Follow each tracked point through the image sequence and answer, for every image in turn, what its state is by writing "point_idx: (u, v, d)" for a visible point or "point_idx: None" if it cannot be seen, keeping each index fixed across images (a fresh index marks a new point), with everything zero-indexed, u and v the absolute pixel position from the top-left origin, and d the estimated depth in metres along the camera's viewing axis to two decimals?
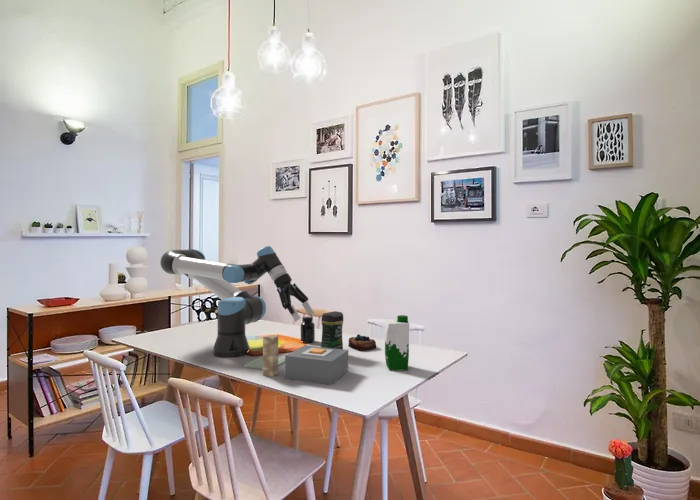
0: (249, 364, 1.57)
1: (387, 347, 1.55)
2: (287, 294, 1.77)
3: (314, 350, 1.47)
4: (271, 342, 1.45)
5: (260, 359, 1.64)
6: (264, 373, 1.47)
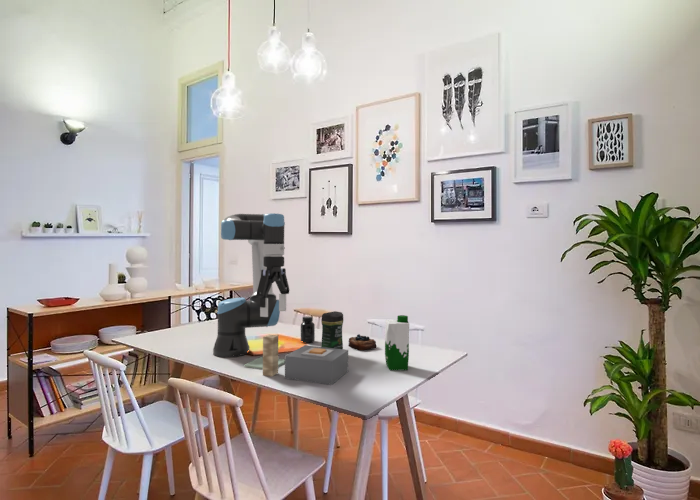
0: (249, 364, 1.57)
1: (387, 347, 1.55)
2: (269, 281, 1.44)
3: (314, 350, 1.47)
4: (271, 342, 1.45)
5: (260, 359, 1.64)
6: (264, 373, 1.47)
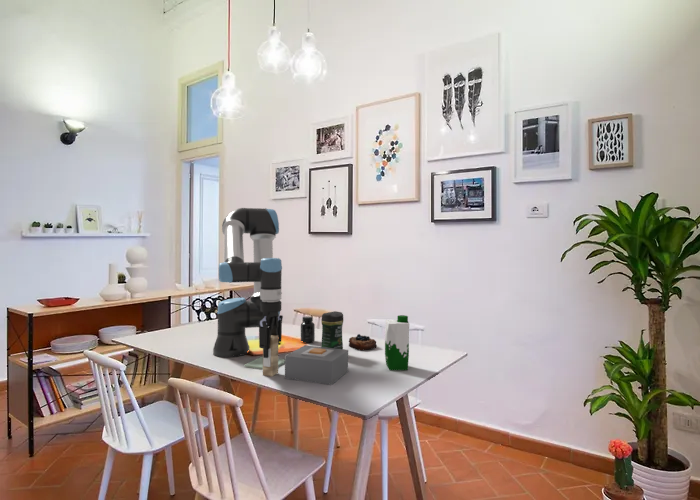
0: (249, 364, 1.57)
1: (387, 347, 1.55)
2: (268, 330, 1.45)
3: (314, 350, 1.47)
4: (271, 342, 1.45)
5: (260, 359, 1.64)
6: (264, 373, 1.47)
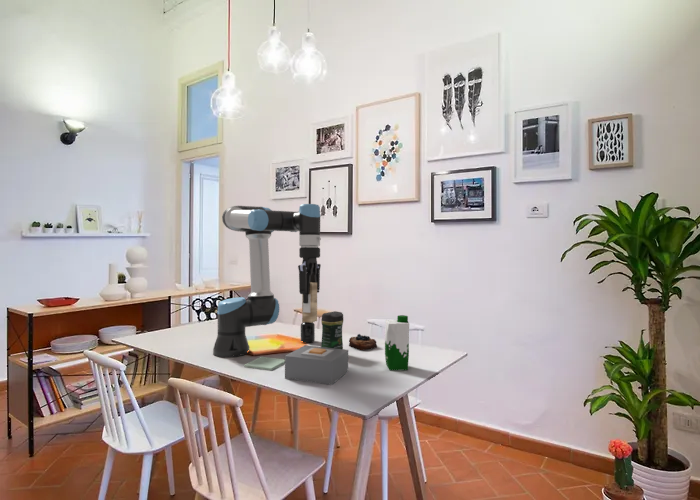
0: (249, 364, 1.57)
1: (387, 347, 1.55)
2: (308, 276, 1.44)
3: (314, 350, 1.47)
4: (311, 288, 1.45)
5: (260, 359, 1.64)
6: (304, 319, 1.46)
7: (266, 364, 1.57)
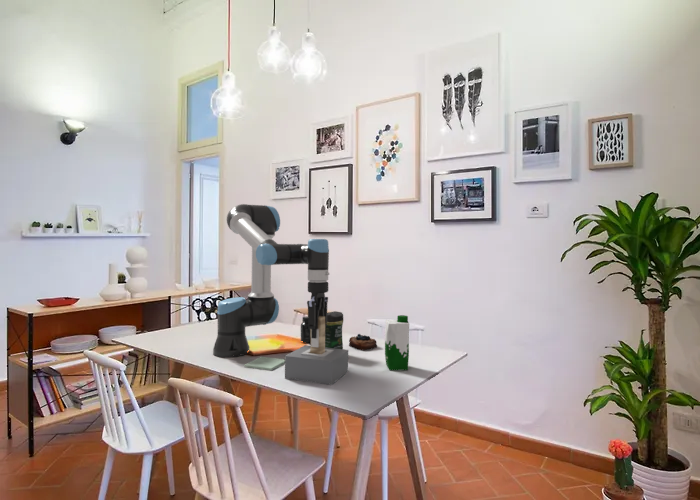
0: (249, 364, 1.57)
1: (387, 347, 1.55)
2: (316, 310, 1.45)
3: None
4: (319, 323, 1.45)
5: (260, 359, 1.64)
6: None
7: (266, 364, 1.57)
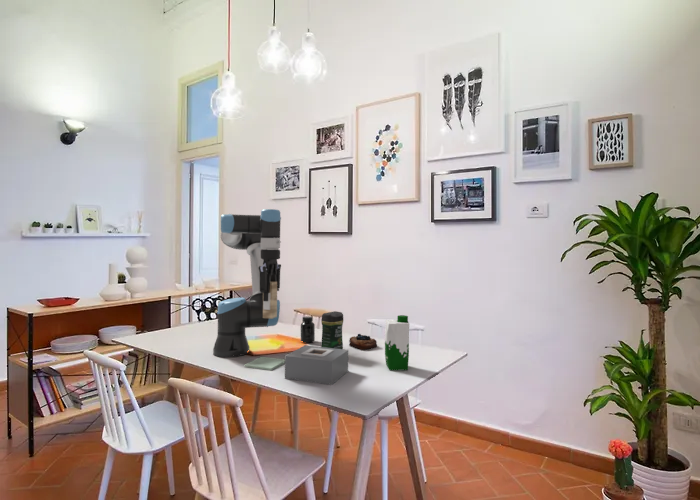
0: (249, 364, 1.57)
1: (387, 347, 1.55)
2: (268, 276, 1.56)
3: None
4: (271, 287, 1.57)
5: (260, 359, 1.64)
6: (264, 315, 1.58)
7: (266, 364, 1.57)
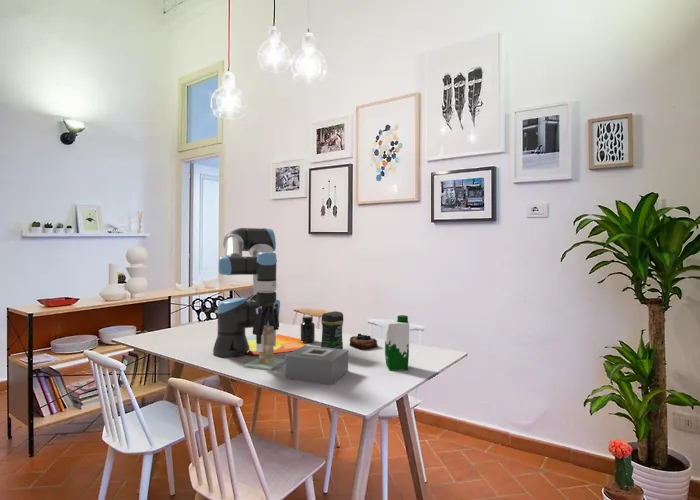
0: (249, 364, 1.57)
1: (387, 347, 1.55)
2: (263, 318, 1.56)
3: None
4: (267, 332, 1.58)
5: None
6: (261, 361, 1.59)
7: (266, 364, 1.57)
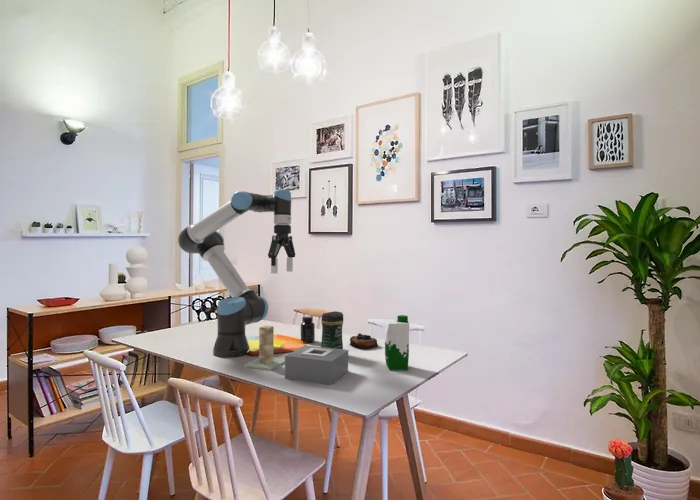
0: (249, 364, 1.57)
1: (387, 347, 1.55)
2: (278, 245, 1.76)
3: None
4: (267, 332, 1.58)
5: None
6: (261, 361, 1.59)
7: (266, 364, 1.57)
